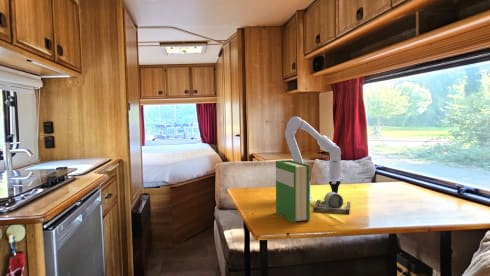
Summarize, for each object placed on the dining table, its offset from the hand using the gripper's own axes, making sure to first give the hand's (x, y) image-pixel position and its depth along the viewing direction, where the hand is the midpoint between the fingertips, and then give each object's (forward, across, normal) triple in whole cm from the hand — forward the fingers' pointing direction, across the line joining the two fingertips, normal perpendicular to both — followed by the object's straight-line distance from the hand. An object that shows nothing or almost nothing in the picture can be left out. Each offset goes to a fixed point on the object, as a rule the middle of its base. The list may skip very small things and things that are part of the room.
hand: (334, 195), depth 188 cm
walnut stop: (+3, -16, 0) cm, 17 cm away
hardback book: (+3, -36, +16) cm, 39 cm away
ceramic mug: (+3, -15, +1) cm, 15 cm away
